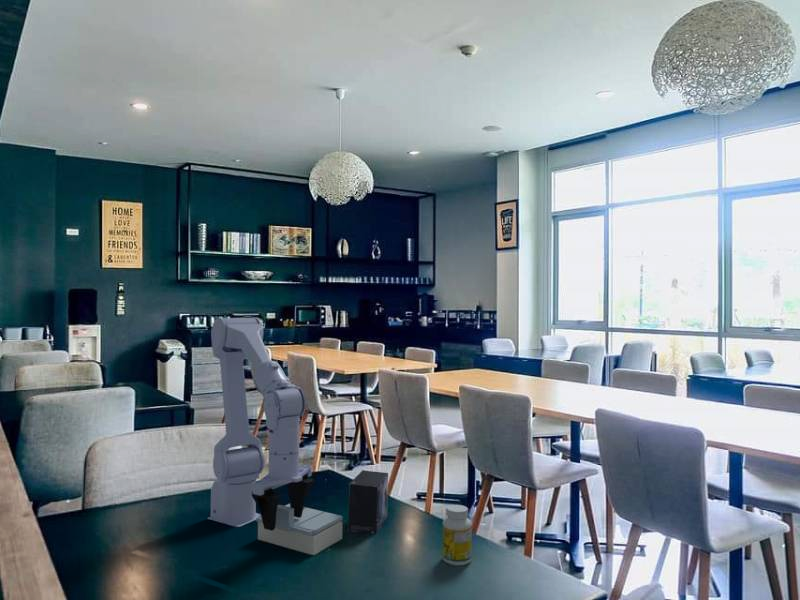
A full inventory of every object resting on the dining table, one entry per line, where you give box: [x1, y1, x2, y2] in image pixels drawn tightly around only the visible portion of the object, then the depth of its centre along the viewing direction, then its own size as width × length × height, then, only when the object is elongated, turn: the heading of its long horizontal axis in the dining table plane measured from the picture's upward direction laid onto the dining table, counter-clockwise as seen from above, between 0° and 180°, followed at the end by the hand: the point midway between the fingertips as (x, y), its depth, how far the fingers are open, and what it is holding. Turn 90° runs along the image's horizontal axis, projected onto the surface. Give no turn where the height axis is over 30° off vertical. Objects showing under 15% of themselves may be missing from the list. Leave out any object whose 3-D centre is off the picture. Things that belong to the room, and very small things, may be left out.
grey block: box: [257, 520, 343, 556], centre depth 118 cm, size 14×9×4 cm, turn 59°
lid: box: [255, 503, 344, 536], centre depth 117 cm, size 14×10×4 cm
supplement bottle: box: [442, 504, 473, 567], centre depth 110 cm, size 5×5×10 cm
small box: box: [347, 470, 389, 535], centre depth 126 cm, size 11×6×10 cm, turn 168°
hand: (283, 522), depth 113 cm, fingers open, 7 cm apart
